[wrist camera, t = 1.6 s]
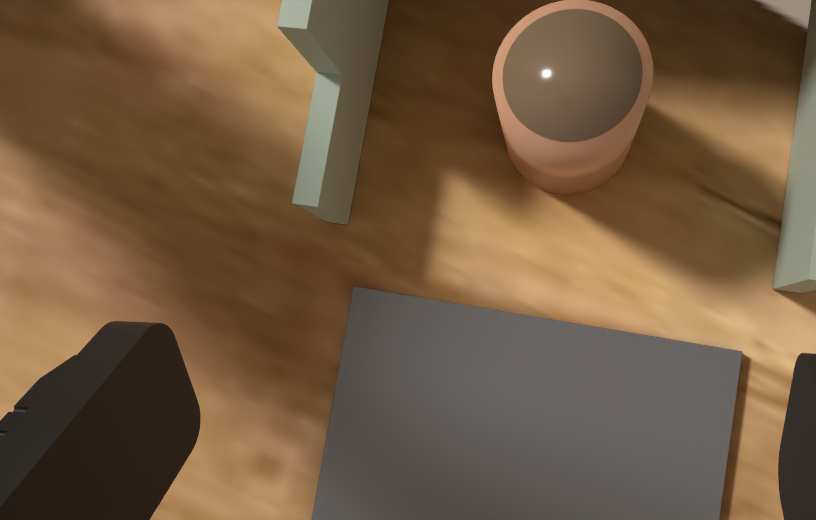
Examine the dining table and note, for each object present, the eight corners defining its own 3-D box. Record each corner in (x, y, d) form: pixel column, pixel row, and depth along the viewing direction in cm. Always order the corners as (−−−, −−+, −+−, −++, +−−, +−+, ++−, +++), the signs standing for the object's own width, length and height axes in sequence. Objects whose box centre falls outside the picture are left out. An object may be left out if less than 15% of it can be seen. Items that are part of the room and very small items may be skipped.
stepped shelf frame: (325, 221, 39) (199, 152, 25) (378, -65, 40) (285, -280, 26) (800, 293, 34) (965, 256, 20) (844, -32, 35) (1026, -272, 22)
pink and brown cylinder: (496, 185, 37) (480, 141, 29) (515, 66, 38) (505, -8, 30) (622, 202, 36) (641, 161, 28) (641, 79, 37) (664, 5, 29)
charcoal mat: (312, 531, 37) (308, 534, 37) (356, 287, 38) (353, 286, 37) (701, 624, 33) (703, 629, 33) (739, 351, 34) (742, 351, 34)
